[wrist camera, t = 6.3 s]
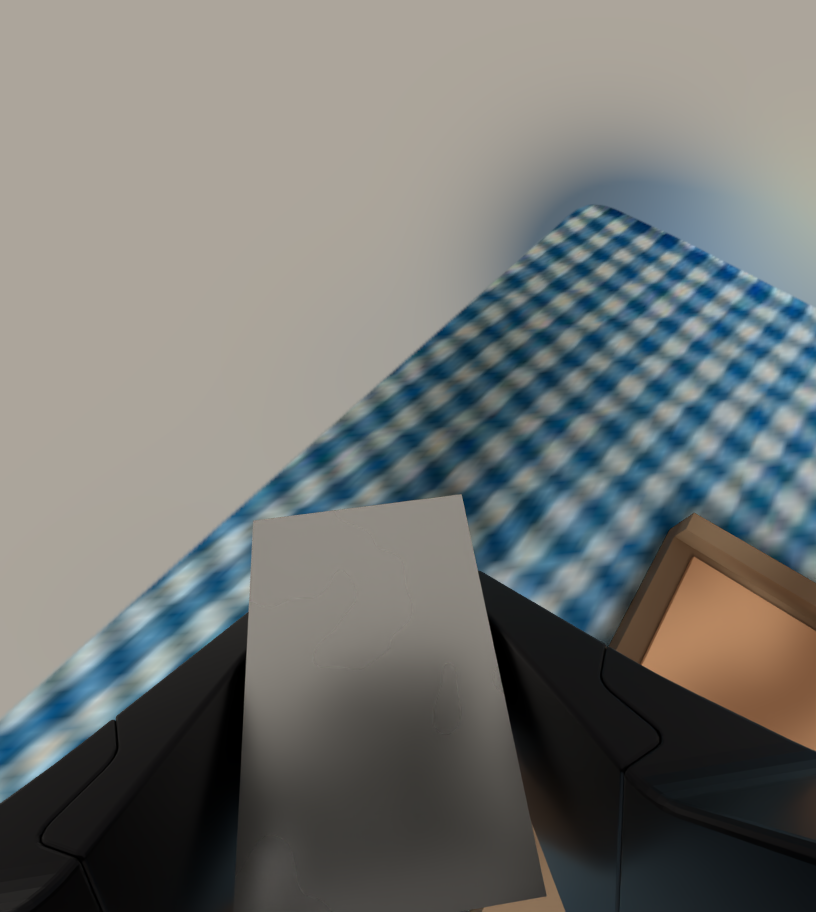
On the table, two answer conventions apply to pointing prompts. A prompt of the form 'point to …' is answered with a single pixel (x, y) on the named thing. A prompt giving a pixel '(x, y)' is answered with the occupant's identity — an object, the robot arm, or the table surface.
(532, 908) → the rack
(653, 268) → the table surface
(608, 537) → the table surface
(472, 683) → the brushed grey box
